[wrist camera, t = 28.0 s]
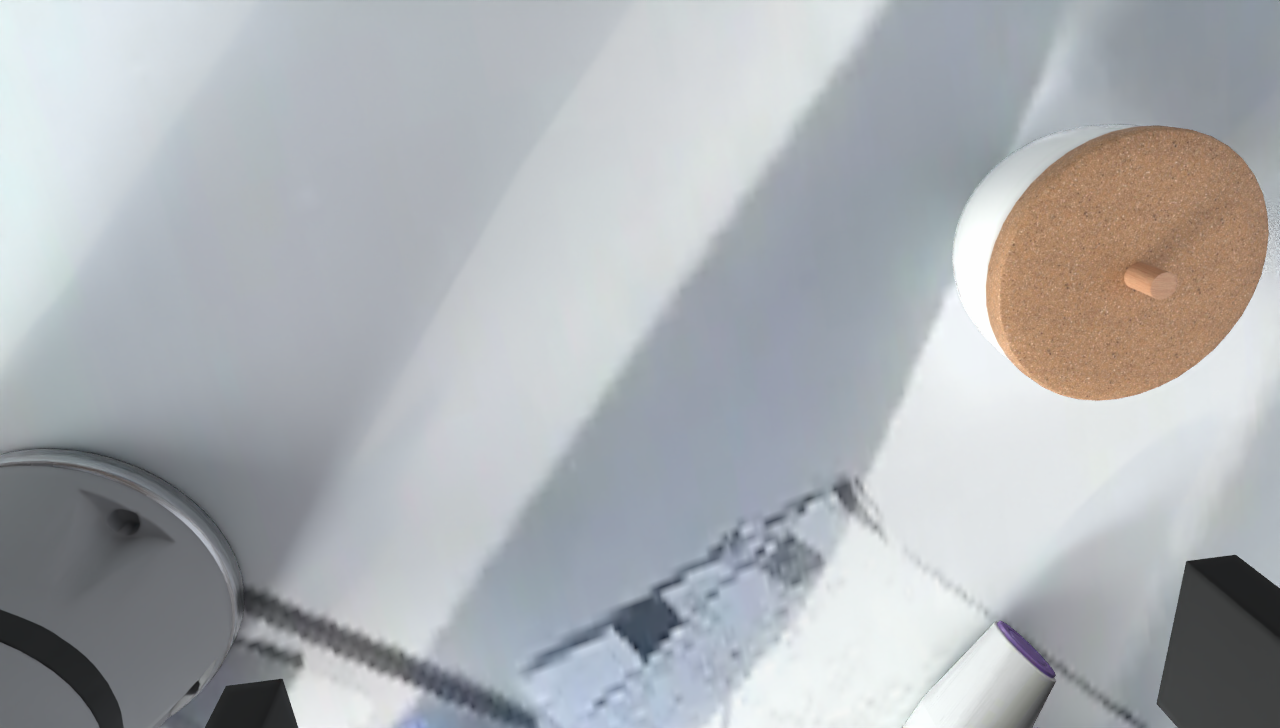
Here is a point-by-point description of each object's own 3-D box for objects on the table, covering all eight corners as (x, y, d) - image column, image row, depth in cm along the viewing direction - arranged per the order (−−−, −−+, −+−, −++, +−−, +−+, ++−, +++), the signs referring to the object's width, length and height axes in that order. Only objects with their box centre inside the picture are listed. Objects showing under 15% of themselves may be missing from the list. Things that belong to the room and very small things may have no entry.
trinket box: (936, 105, 36) (1058, 127, 27) (1164, 113, 37) (1352, 137, 28) (897, 336, 40) (993, 420, 31) (1104, 337, 41) (1253, 419, 32)
